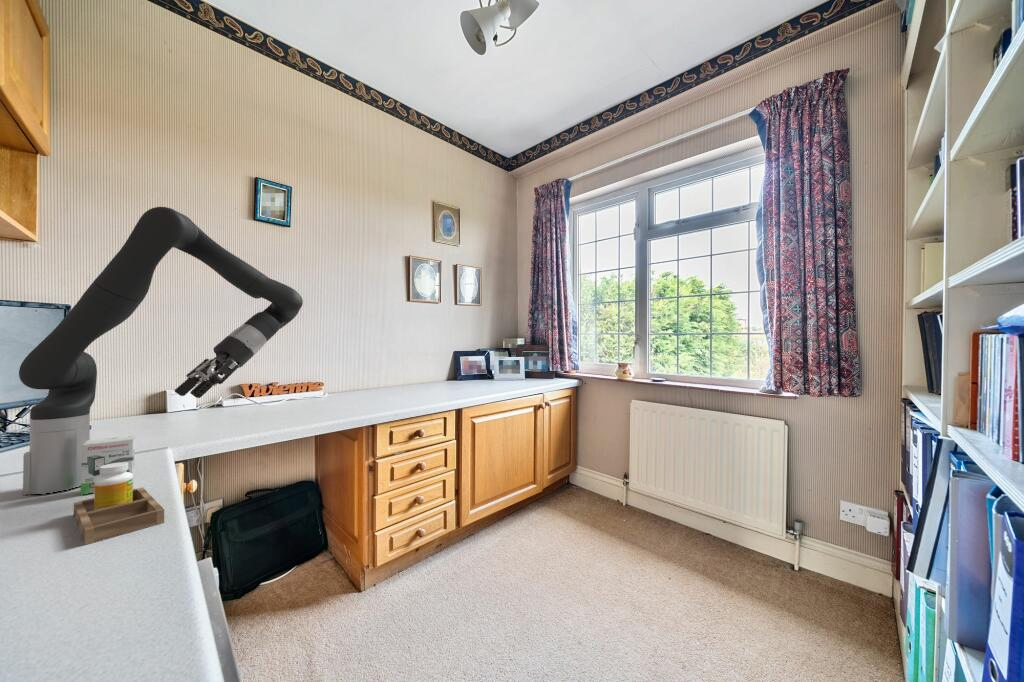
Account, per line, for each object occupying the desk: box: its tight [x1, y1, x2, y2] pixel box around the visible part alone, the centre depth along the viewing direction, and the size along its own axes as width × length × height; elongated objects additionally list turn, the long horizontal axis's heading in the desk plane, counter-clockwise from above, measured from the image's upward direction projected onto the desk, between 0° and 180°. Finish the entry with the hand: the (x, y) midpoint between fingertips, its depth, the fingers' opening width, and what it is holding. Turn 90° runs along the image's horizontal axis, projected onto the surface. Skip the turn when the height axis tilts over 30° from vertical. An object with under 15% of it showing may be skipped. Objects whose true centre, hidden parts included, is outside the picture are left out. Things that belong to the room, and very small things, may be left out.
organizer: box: [73, 486, 165, 546], centre depth 73 cm, size 20×10×2 cm, turn 53°
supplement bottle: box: [93, 462, 134, 510], centre depth 76 cm, size 5×5×10 cm
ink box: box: [79, 435, 136, 496], centre depth 89 cm, size 9×5×12 cm, turn 133°
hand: (186, 394), depth 86 cm, fingers open, 8 cm apart
